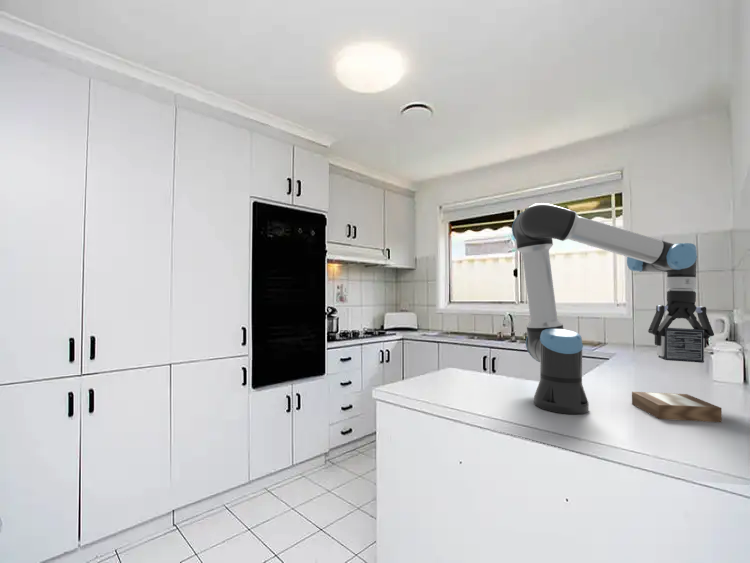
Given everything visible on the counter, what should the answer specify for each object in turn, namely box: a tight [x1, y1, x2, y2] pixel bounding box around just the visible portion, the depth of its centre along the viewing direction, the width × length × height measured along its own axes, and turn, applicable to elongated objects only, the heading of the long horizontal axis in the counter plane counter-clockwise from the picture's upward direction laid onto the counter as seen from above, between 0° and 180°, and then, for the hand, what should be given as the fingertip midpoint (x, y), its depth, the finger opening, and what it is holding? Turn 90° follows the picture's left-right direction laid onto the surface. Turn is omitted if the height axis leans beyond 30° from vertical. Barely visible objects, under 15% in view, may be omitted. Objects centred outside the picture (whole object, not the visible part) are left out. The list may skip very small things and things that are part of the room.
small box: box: [657, 327, 705, 364], centre depth 125 cm, size 11×6×10 cm, turn 71°
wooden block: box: [631, 391, 723, 423], centre depth 113 cm, size 16×14×4 cm
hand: (680, 356), depth 125 cm, fingers closed on small box, 11 cm apart
